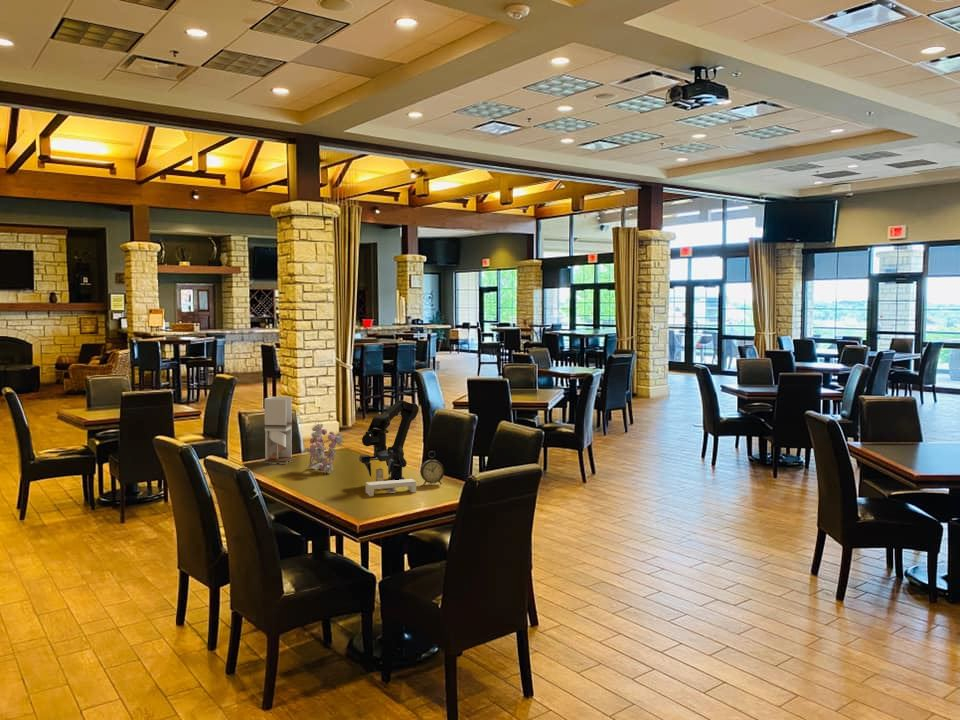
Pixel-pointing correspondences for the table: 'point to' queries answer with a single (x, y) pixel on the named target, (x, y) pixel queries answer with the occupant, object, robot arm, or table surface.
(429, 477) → the alarm clock
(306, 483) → the table surface
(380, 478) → the birch pusher
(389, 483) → the cream bench
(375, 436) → the robot arm
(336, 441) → the flower
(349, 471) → the table surface
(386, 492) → the steel disc
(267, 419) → the grey dispenser
